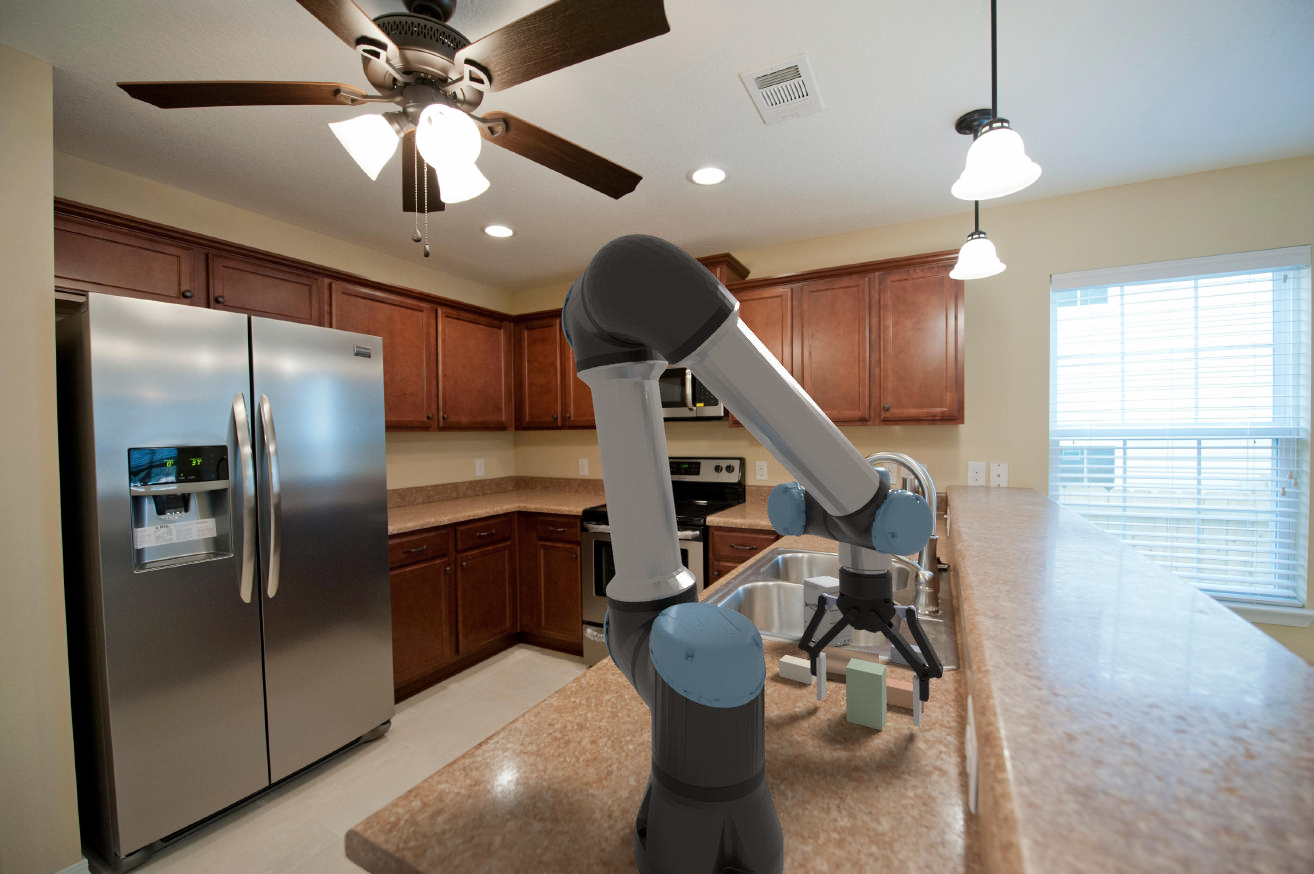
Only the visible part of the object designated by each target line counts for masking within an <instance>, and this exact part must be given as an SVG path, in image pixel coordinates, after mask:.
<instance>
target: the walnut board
mask: <svg viewBox="0 0 1314 874" xmlns="http://www.w3.org/2000/svg"><path fill="white" fill-rule="evenodd" d="M821 652H822V653H826V680H827V679H829V680H835V681H840V682H846V666H847V665H848V663H849V662H850V660H851V658H854V659H859V660H863V661H868V662H873V663H878V664H880V656H879V655H880V654H879V653H878V652H870V651H861V650H856V649H849V648H841V647H828V646H826V647H825V648H824V649H823V650H822V651H821ZM821 652H820V653H821Z"/></svg>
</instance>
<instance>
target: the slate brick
mask: <svg viewBox="0 0 1314 874" xmlns="http://www.w3.org/2000/svg"><path fill="white" fill-rule="evenodd" d="M910 646H911V647H912V648H913V649H914V651H915V652H916V653H917V654H918V655H919V657H920V658H921V659H922V660H923V662H924V663H925V664H926V665H928V664H927V662H926V660H925V659H924V657H923V655H922V653H921V651H920V649H919V647H918V645H913V644H910ZM890 662H893V663H898V664H902V665H906V666H910V665H909V664H908V663H907V662H906V660H905V659H904V658H903V657H902V655H901V654H900V653H899V652H898V650H897V649H896V648H895V647H894V645H893V644H892V643H891V645H890Z"/></svg>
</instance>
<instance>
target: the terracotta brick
mask: <svg viewBox="0 0 1314 874" xmlns="http://www.w3.org/2000/svg"><path fill="white" fill-rule="evenodd" d="M886 693H887V704H889V705H892V706H898V707H901V708H907V709H911V710H913V682H908V681H903V680H898V679H894V678H888V677H886ZM925 705H926V702H924V701H921V713H922V712H923V713H924V712H925Z"/></svg>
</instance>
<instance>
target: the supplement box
mask: <svg viewBox="0 0 1314 874" xmlns="http://www.w3.org/2000/svg"><path fill="white" fill-rule="evenodd" d="M823 592H828V593H829V595H831V596H835V597H838V596H839V578H835V577H833V576H829V575H822V576H814V577H809V578H808V577H807V578H804V579H803V633H804V632H805V630H806V629H807V627H808V625H809V623H810V621H811V619H812V617H813V615H814V613H815V612H816V610H817V603H818V597H819V596H820V595H821V594H822V593H823ZM842 616H843V615H842V613H841V612H840V610H839V609H838V607H837V606H836V605H833V607H832V608H831V609H829V610H827V612H826V614H825V615H824V617H823V619H822V621H821V623H820V625H819V627H818V629H817V630H816V632H815V634H814V636H813V638H812V639H813V640H815V641H814V642H815V643H817V642H818V641H819V640H820V639H821V638H822V637H823V636H824V635H825V634H826V633H827V632H828V631H829V630H830V629H831V628H832V627H833V626H834V625H835V624H836V623H837V622H838V621H839V620H840V618H841V617H842ZM853 630H854V628H853V627H851V626H850V625H849V624H848V625H847V626H846V627H845V628H844V629H843V630H842V631H841V632H840V633H839V634H838V635H837V636H836V637H835V638H834V639H833V640H832V641H831V642H830V643H829V644H828V645H827V646H828V647H835V646H837V647H840V646H839V645H841V644H846V645H849V644H850V645H851V644H852V643H853V641H854V639H853V637H854V636H853V634H854V633H853V632H854V631H853ZM813 640H812V641H813ZM838 643H840V644H838ZM841 646H842V645H841ZM835 648H836V647H835Z"/></svg>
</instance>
